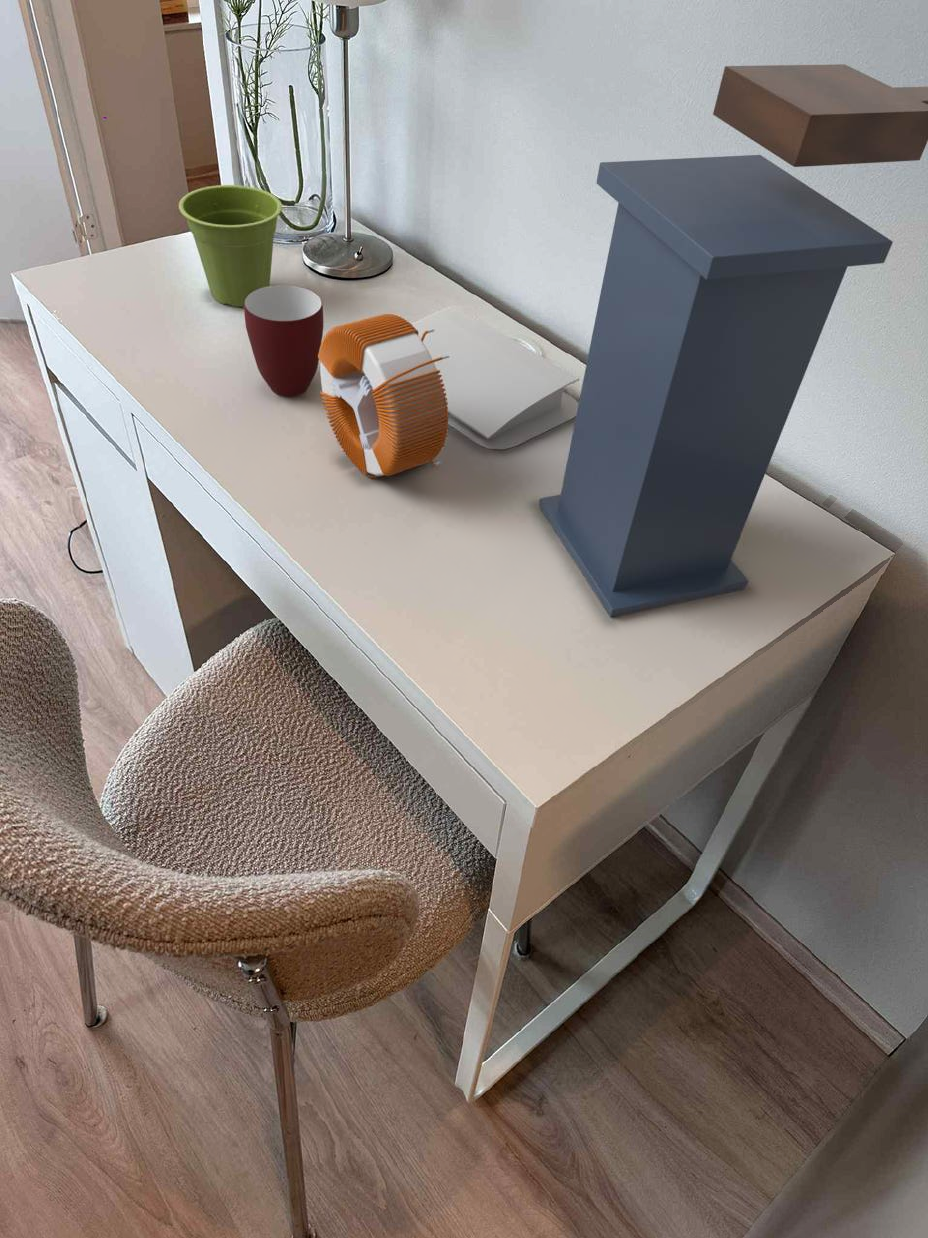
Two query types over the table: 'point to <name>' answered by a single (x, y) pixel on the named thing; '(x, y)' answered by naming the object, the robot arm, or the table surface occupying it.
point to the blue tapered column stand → (694, 368)
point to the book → (494, 381)
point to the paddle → (824, 114)
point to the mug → (285, 336)
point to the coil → (383, 394)
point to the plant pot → (233, 237)
